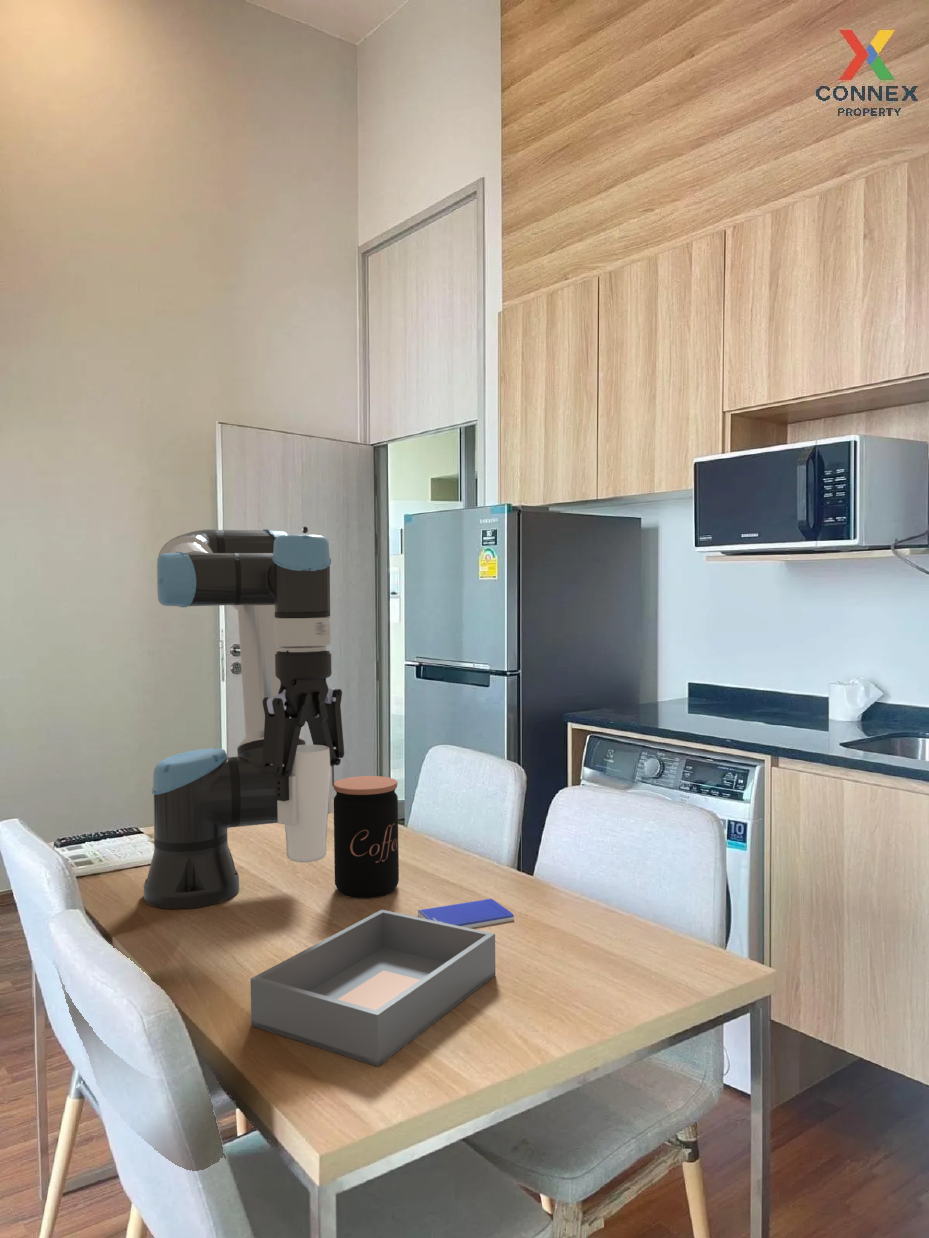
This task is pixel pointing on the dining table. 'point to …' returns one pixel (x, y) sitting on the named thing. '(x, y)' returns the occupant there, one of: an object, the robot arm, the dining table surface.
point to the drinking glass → (310, 804)
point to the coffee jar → (366, 836)
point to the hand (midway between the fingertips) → (305, 817)
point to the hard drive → (469, 914)
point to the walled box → (373, 984)
